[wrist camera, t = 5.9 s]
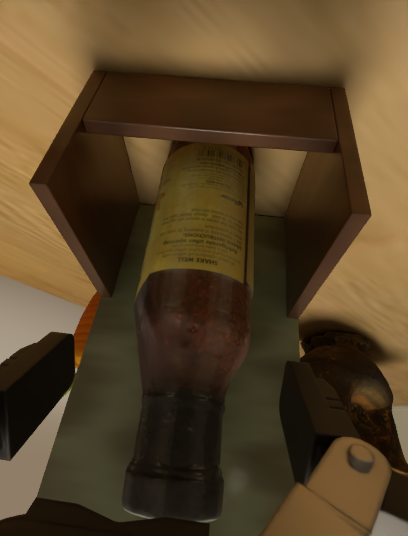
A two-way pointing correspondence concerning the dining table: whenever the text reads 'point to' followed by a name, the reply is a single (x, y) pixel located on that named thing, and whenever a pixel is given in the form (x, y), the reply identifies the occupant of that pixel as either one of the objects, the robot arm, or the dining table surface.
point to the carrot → (84, 330)
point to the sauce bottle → (191, 328)
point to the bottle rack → (132, 256)
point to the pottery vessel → (358, 390)
